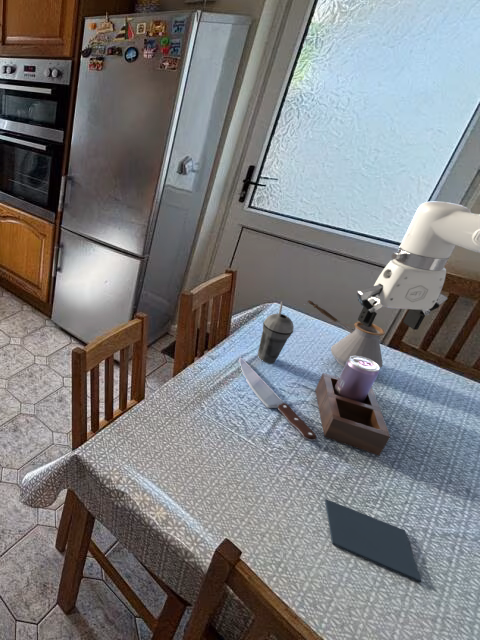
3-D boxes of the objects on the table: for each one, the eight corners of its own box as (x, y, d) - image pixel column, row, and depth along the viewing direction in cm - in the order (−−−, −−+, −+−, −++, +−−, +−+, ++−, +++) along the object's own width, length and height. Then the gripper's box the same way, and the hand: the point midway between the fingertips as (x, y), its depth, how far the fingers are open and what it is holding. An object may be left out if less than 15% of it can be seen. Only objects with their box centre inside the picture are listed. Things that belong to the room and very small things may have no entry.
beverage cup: (284, 368, 121) (307, 311, 112) (255, 363, 123) (275, 306, 114) (276, 353, 127) (298, 298, 118) (249, 348, 129) (268, 294, 121)
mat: (403, 531, 79) (405, 530, 79) (420, 582, 71) (421, 581, 71) (324, 500, 85) (325, 498, 84) (332, 544, 77) (332, 542, 77)
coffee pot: (382, 365, 121) (404, 323, 115) (373, 382, 115) (395, 338, 109) (297, 332, 137) (312, 293, 130) (284, 345, 130) (299, 305, 124)
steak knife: (297, 442, 97) (300, 436, 96) (224, 359, 125) (226, 354, 124) (317, 443, 97) (320, 437, 96) (240, 360, 125) (241, 355, 124)
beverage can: (361, 420, 103) (386, 373, 97) (332, 414, 105) (355, 368, 98) (350, 403, 108) (373, 357, 102) (322, 398, 110) (344, 353, 104)
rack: (315, 389, 113) (322, 372, 110) (362, 403, 108) (372, 386, 105) (324, 437, 99) (333, 418, 96) (379, 455, 94) (390, 437, 91)
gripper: (389, 265, 86) (357, 332, 94) (483, 268, 84) (443, 337, 91) (362, 250, 93) (335, 314, 100) (449, 253, 91) (414, 318, 98)
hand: (386, 324), depth 96 cm, fingers open, 9 cm apart
